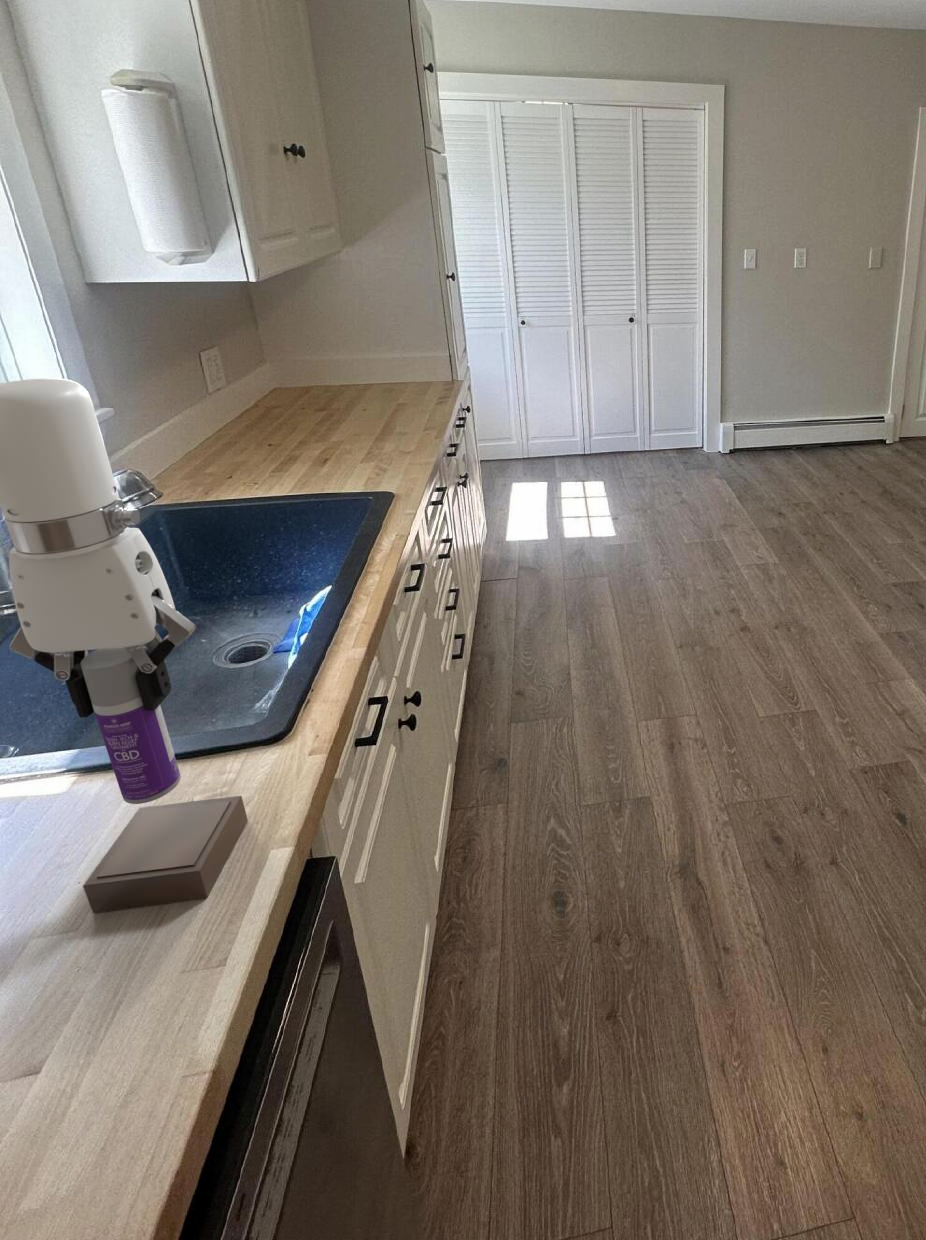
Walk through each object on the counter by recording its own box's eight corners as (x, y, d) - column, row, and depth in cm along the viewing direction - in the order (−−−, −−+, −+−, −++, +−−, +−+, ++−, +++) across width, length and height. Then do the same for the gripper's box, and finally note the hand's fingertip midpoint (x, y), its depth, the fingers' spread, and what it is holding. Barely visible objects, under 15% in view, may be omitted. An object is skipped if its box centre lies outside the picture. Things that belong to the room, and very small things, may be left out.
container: (124, 811, 69) (78, 676, 64) (121, 783, 72) (78, 652, 67) (183, 789, 72) (144, 657, 67) (178, 763, 75) (141, 635, 70)
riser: (92, 913, 70) (81, 885, 69) (147, 832, 79) (139, 806, 78) (207, 898, 72) (198, 870, 70) (248, 820, 81) (241, 794, 80)
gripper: (199, 504, 67) (241, 673, 74) (-12, 515, 65) (50, 690, 71) (157, 536, 61) (207, 720, 67) (-81, 551, 58) (-6, 741, 64)
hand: (126, 703), depth 69 cm, fingers closed on container, 4 cm apart
